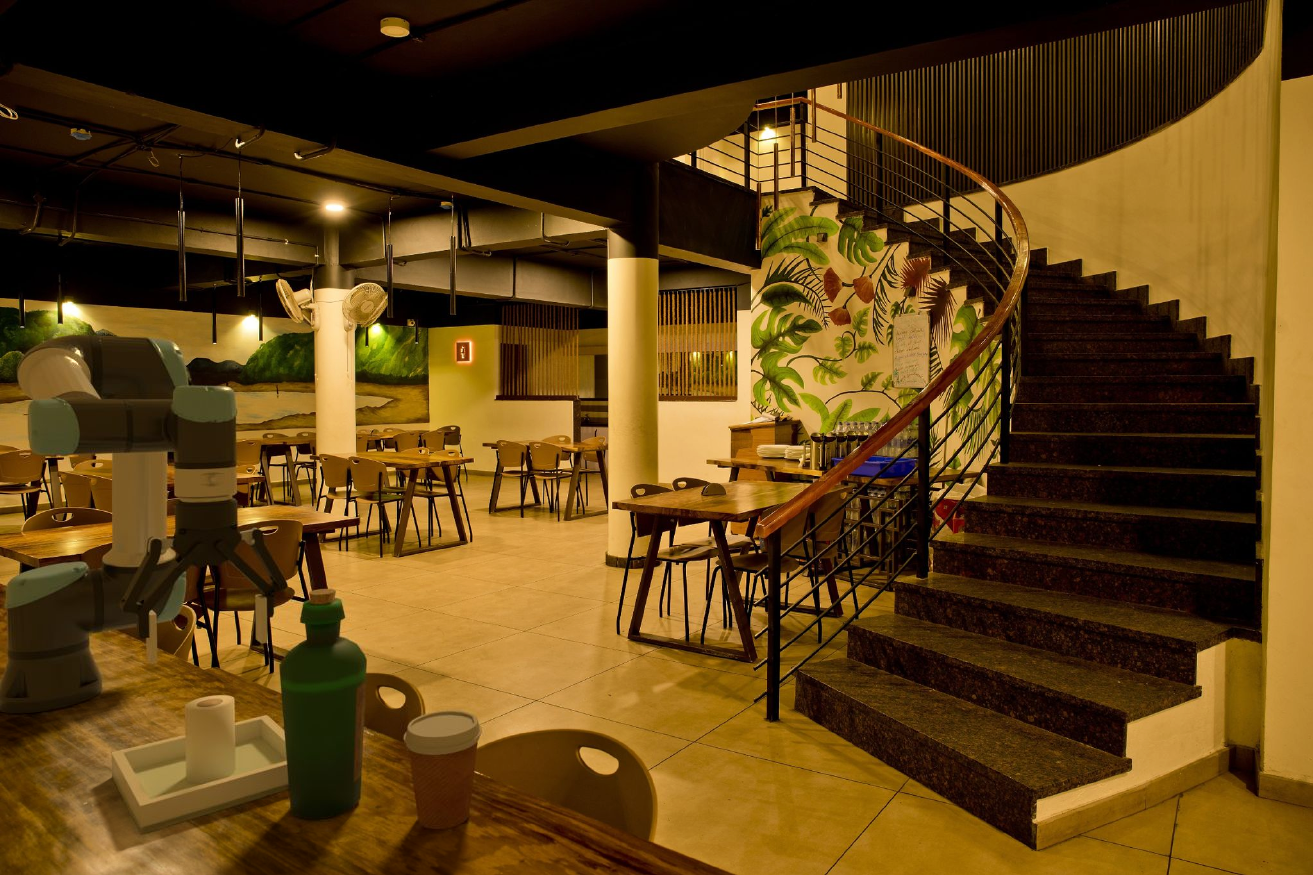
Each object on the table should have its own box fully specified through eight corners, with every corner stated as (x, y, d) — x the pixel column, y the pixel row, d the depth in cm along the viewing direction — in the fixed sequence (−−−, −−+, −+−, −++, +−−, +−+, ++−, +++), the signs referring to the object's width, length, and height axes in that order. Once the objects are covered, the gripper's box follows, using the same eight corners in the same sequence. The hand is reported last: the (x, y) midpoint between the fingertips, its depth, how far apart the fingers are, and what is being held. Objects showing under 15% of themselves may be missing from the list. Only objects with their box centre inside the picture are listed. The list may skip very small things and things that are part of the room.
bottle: (386, 793, 108) (383, 585, 107) (329, 832, 98) (326, 604, 97) (322, 781, 111) (318, 580, 110) (261, 818, 101) (256, 597, 100)
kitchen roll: (181, 773, 112) (179, 702, 111) (228, 760, 116) (227, 691, 115) (192, 788, 107) (190, 714, 107) (241, 774, 111) (239, 703, 111)
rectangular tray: (112, 777, 112) (111, 752, 112) (267, 736, 126) (266, 714, 126) (140, 834, 97) (140, 805, 97) (313, 781, 111) (313, 756, 111)
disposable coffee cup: (462, 840, 96) (461, 741, 95) (389, 832, 98) (388, 735, 97) (494, 802, 105) (493, 711, 105) (427, 795, 107) (426, 706, 107)
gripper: (101, 508, 99) (105, 678, 100) (309, 494, 116) (311, 639, 117) (92, 502, 105) (95, 663, 106) (292, 489, 121) (293, 627, 122)
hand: (209, 650), depth 111 cm, fingers open, 13 cm apart
